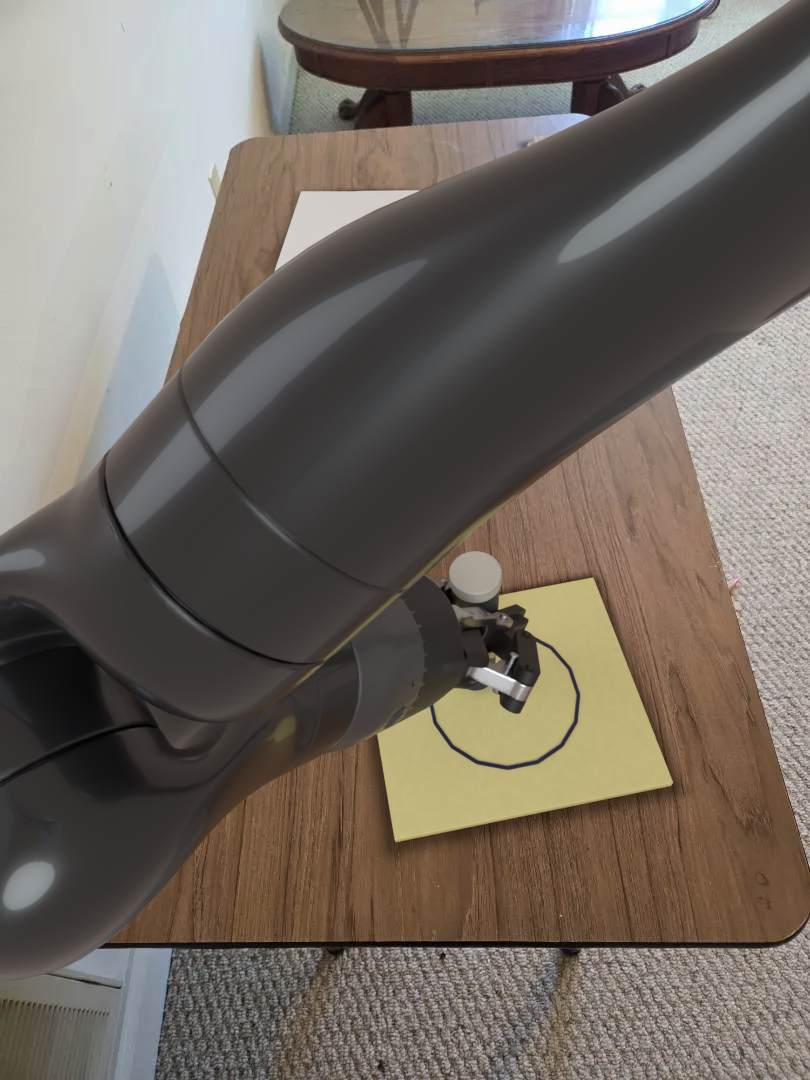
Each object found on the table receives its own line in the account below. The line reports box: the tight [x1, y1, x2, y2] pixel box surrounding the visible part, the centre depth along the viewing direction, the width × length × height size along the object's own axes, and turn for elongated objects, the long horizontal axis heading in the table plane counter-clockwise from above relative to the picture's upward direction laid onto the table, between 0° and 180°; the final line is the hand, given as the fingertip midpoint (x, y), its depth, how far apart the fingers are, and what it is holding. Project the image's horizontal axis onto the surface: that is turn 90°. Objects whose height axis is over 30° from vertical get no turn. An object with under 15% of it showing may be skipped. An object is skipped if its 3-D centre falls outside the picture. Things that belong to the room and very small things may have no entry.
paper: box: [273, 189, 422, 273], centre depth 86 cm, size 25×17×1 cm
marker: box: [448, 550, 503, 691], centre depth 50 cm, size 3×3×13 cm
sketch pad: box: [376, 577, 674, 843], centre depth 54 cm, size 18×16×1 cm
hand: (492, 607), depth 51 cm, fingers closed on marker, 3 cm apart
